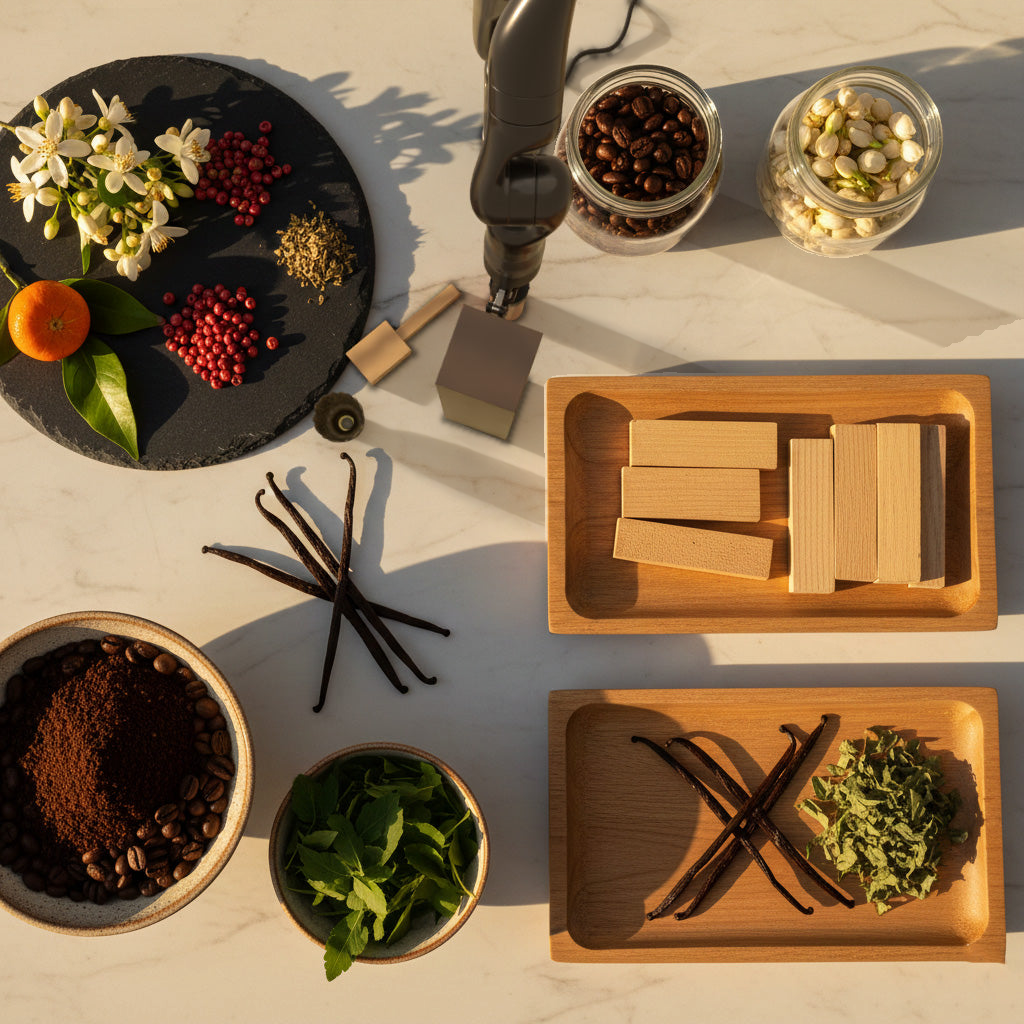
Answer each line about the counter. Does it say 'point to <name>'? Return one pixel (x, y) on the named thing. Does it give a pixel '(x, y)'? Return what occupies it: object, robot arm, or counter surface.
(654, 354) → the counter surface
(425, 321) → the spatula
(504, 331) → the pedestal
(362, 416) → the brown funnel
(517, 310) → the spice jar
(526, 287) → the jar lid
